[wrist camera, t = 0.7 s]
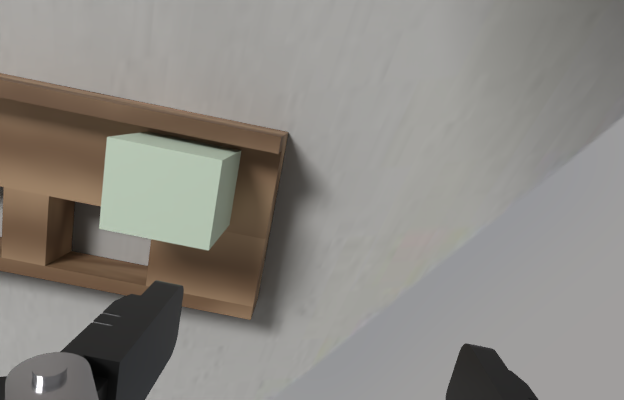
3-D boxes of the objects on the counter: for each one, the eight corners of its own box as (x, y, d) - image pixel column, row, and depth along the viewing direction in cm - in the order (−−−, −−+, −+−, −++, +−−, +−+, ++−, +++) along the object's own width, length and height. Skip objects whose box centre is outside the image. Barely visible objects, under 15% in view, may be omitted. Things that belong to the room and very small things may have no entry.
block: (147, 131, 26) (107, 136, 21) (241, 150, 26) (222, 160, 21) (139, 206, 27) (98, 228, 22) (229, 224, 27) (208, 250, 22)
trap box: (-127, 47, 28) (-246, 31, 22) (288, 132, 28) (279, 138, 23) (-120, 225, 31) (-224, 253, 25) (257, 300, 31) (242, 344, 26)
